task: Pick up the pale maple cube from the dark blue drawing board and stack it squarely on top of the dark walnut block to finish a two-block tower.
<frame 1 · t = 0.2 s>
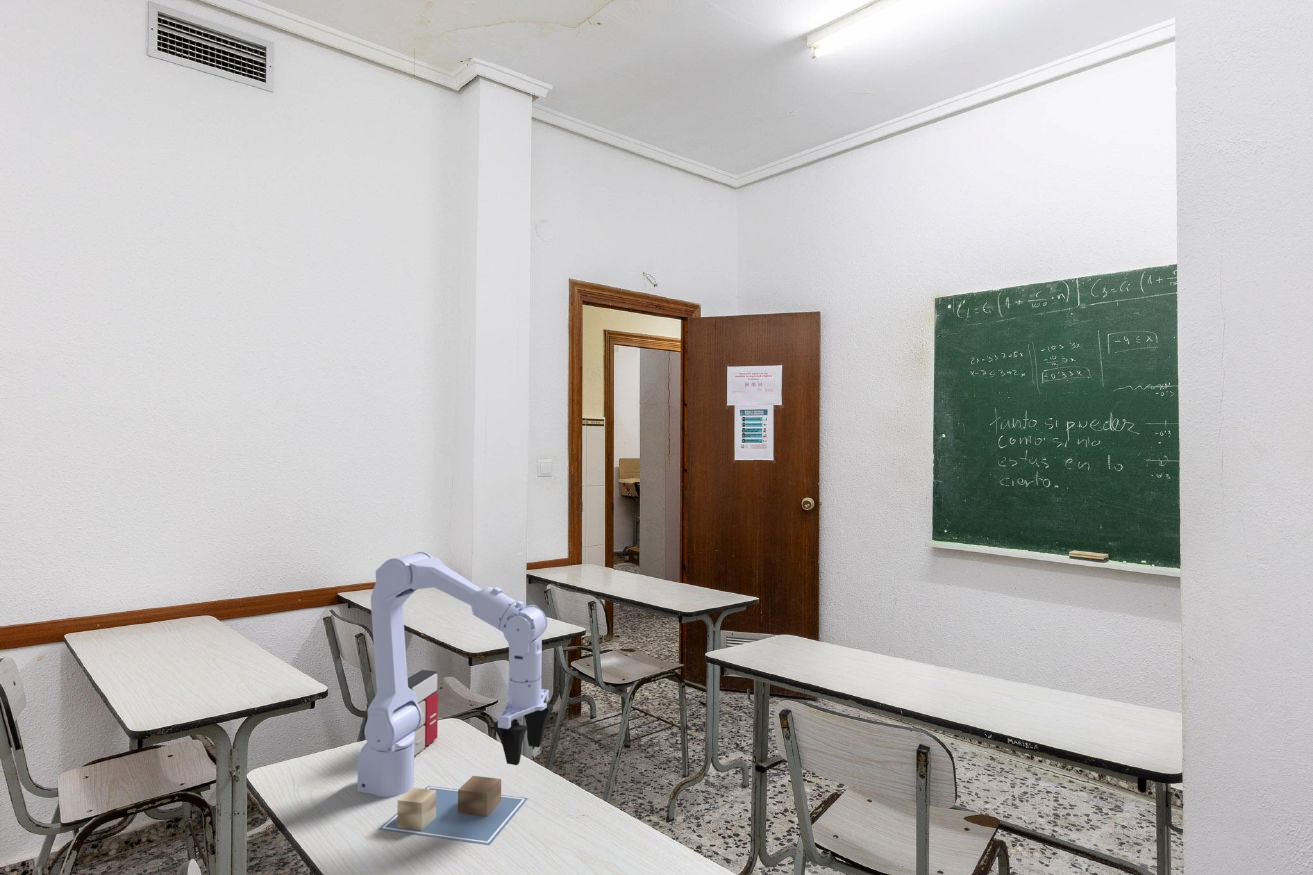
hand: (524, 754, 125), 10 cm above the table, tool pointing down, fingers open, 7 cm apart
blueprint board: (456, 817, 123), on the table
walnut block: (479, 807, 125), resting on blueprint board
maple cube: (416, 821, 120), point 1 cm above the table, touching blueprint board
red and white box: (417, 749, 151), on the table
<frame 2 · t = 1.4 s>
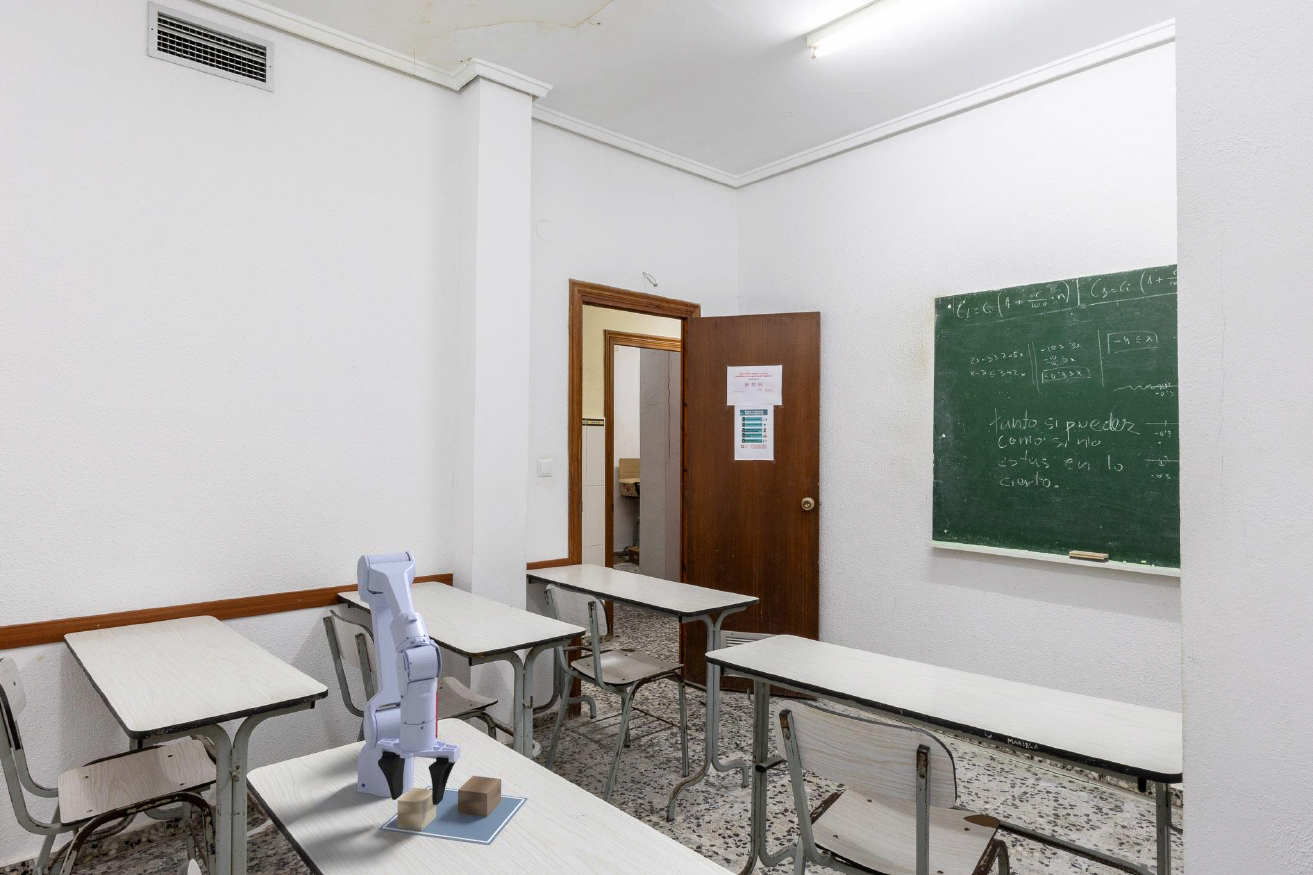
hand: (417, 799, 120), 5 cm above the table, tool pointing down, fingers open, 7 cm apart
nothing on the table moved.
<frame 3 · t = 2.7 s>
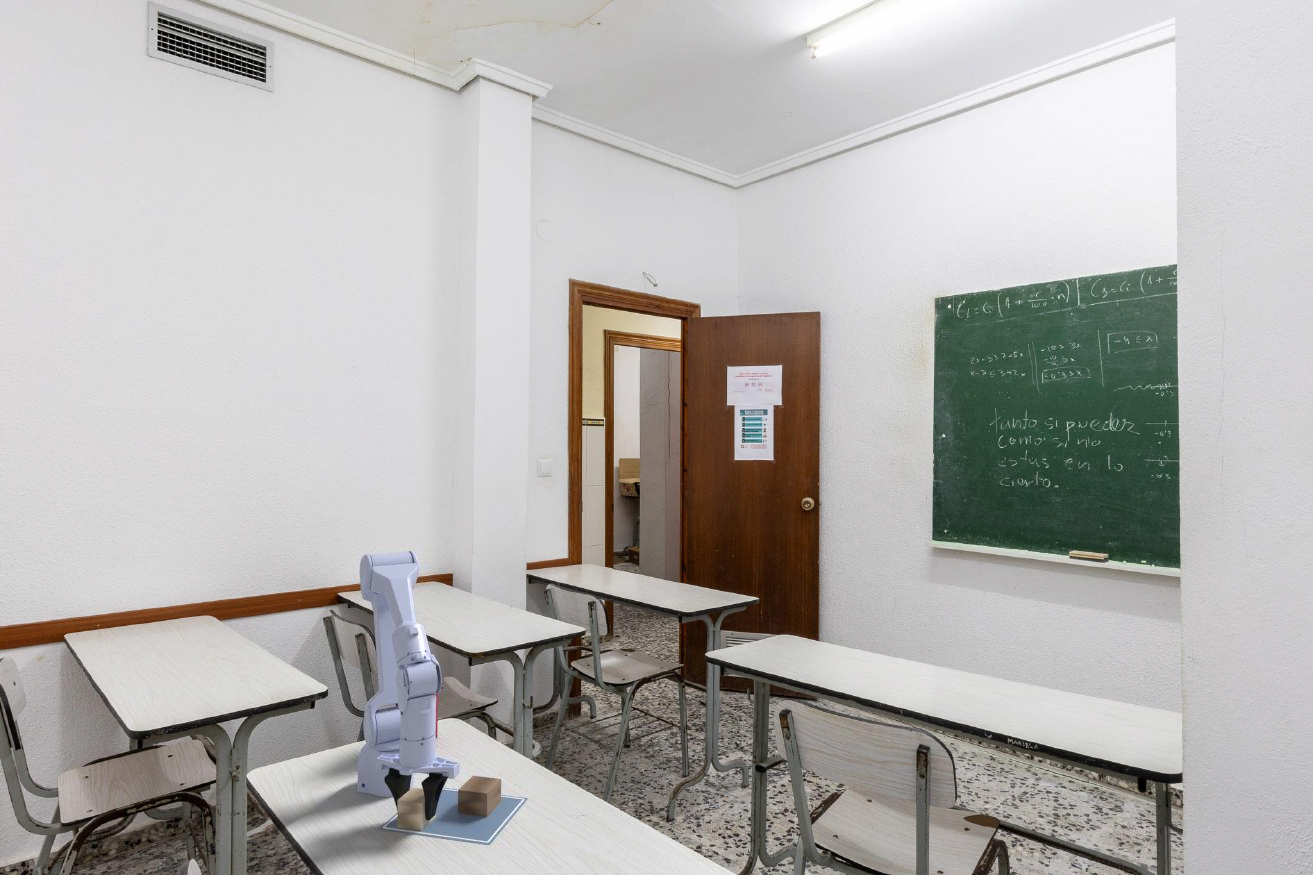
hand: (416, 815, 120), 2 cm above the table, tool pointing down, fingers closed on maple cube, 4 cm apart
maple cube: (416, 821, 120), point 1 cm above the table, touching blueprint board, gripper
everything else where it was.
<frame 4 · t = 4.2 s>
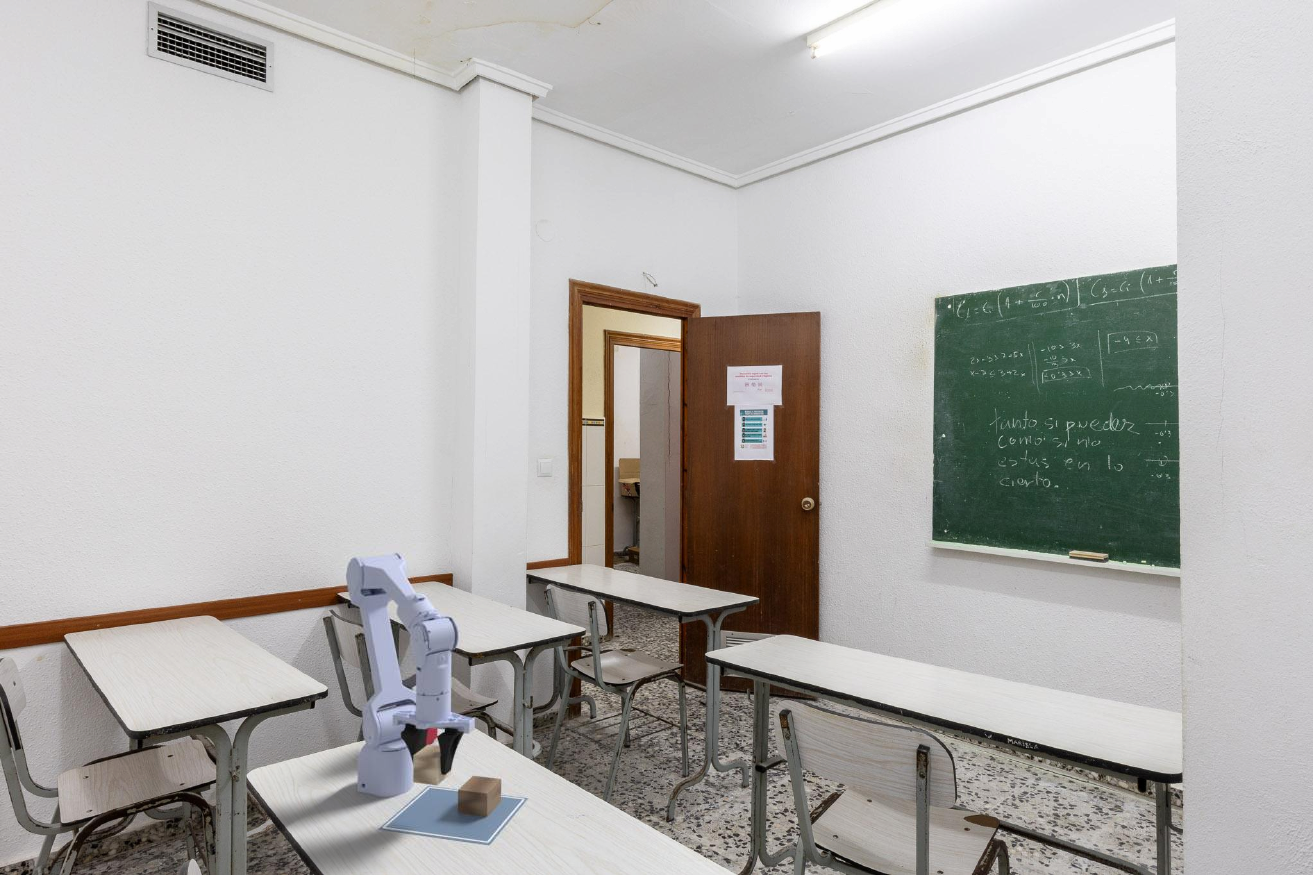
hand: (432, 770, 121), 9 cm above the table, tool pointing down, fingers closed on maple cube, 4 cm apart
maple cube: (432, 777, 121), point 8 cm above the table, touching gripper
everything else where it was.
when the fingers open (7 cm above the table, at t = 5.9 s): maple cube stays where it is, resting on walnut block.
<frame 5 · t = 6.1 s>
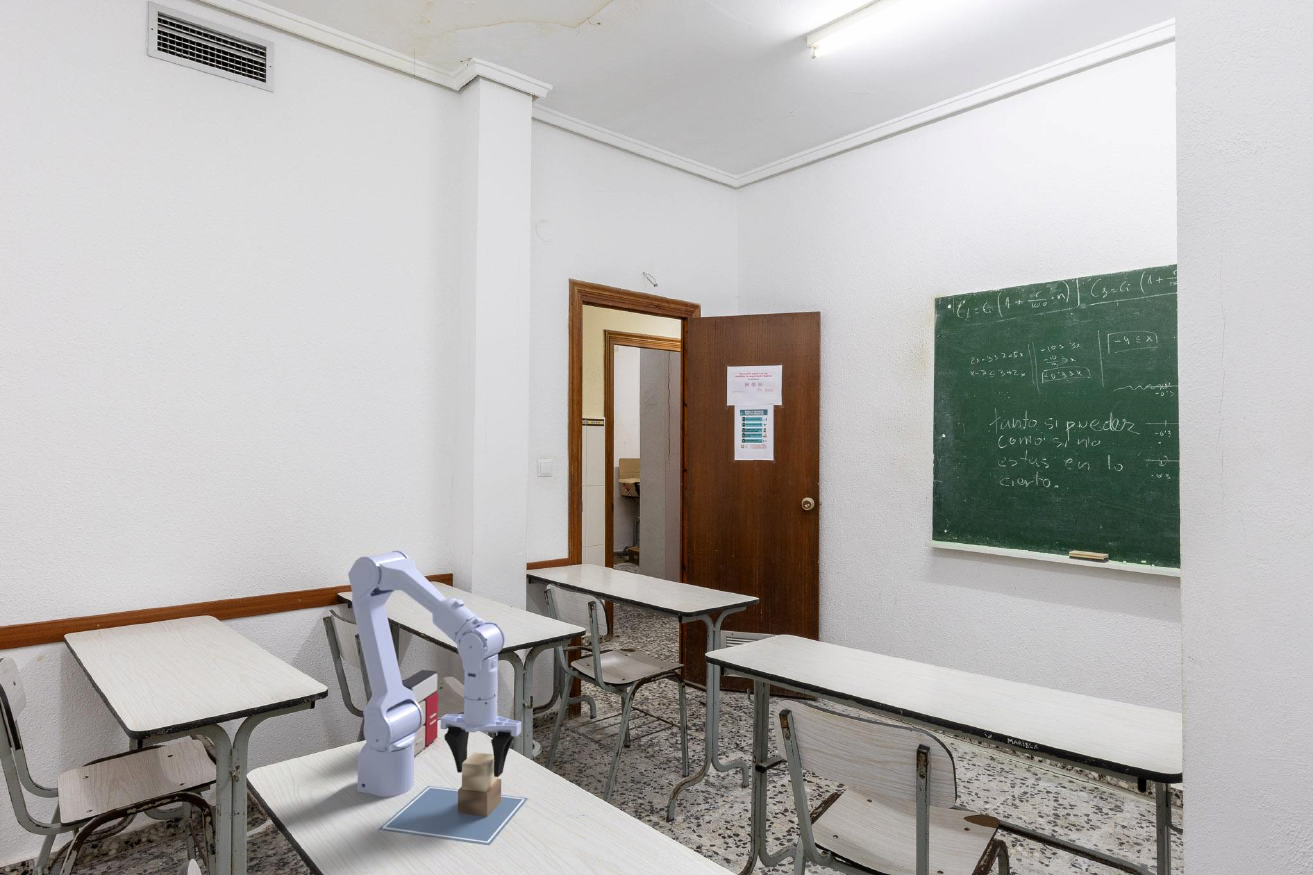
hand: (480, 772, 125), 7 cm above the table, tool pointing down, fingers open, 6 cm apart
maple cube: (479, 784, 125), point 5 cm above the table, touching walnut block
everything else where it was.
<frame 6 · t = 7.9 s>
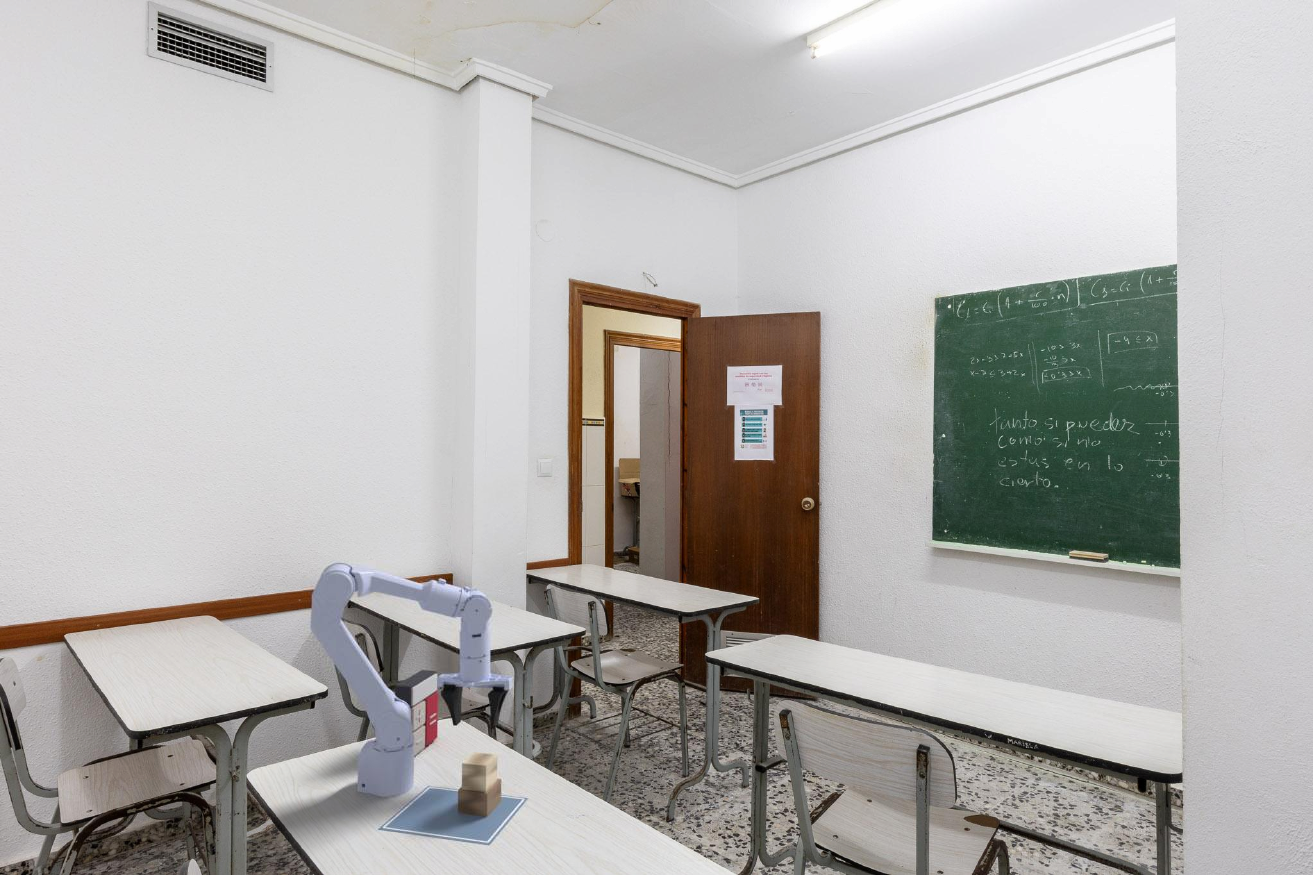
hand: (475, 724, 137), 10 cm above the table, tool pointing down, fingers open, 7 cm apart
nothing on the table moved.
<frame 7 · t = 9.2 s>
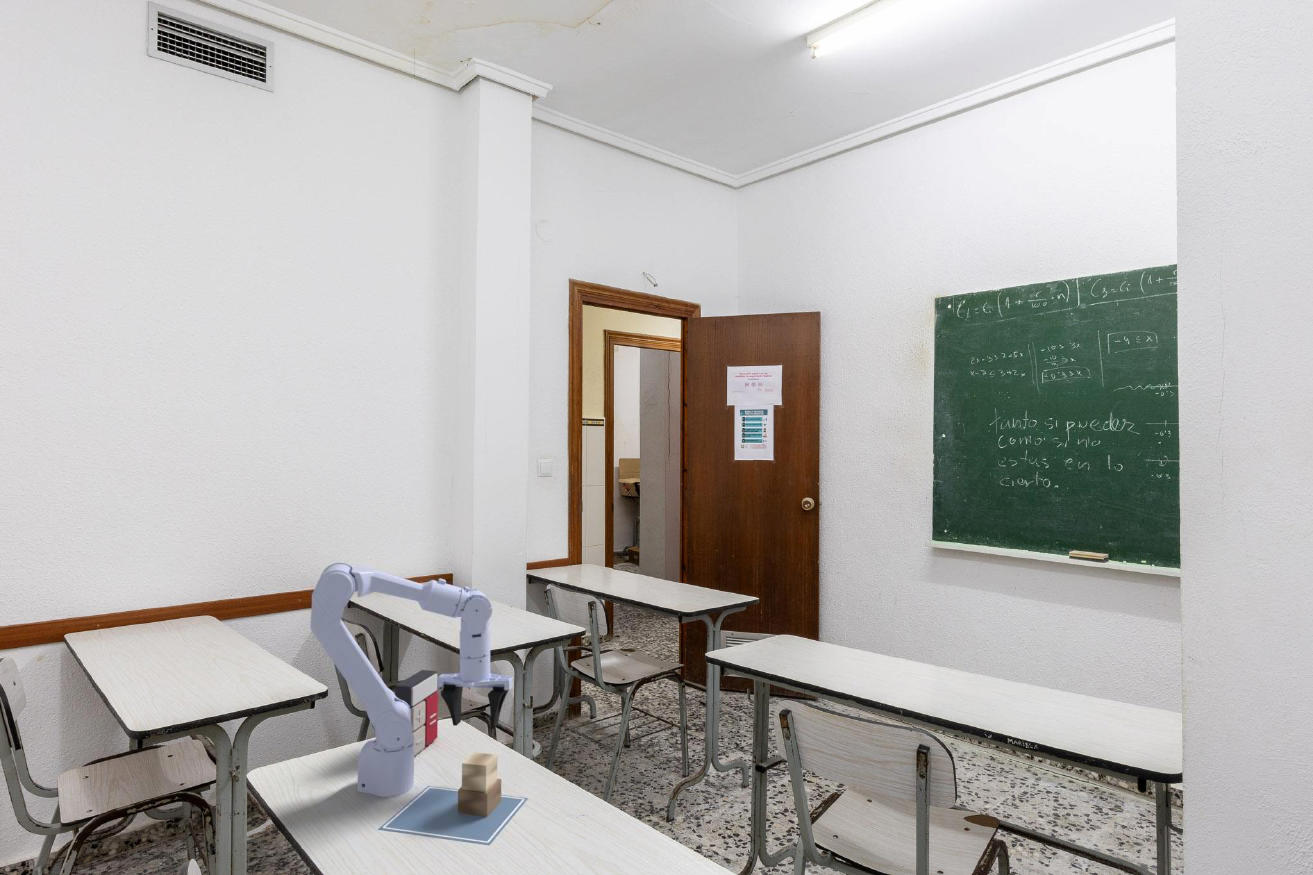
hand: (475, 724, 137), 10 cm above the table, tool pointing down, fingers open, 7 cm apart
nothing on the table moved.
at the end: maple cube 0.1 cm off-centre on the walnut block, point 4.0 cm above the walnut block's base; maple cube tilted 0°; the gripper is holding nothing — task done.
